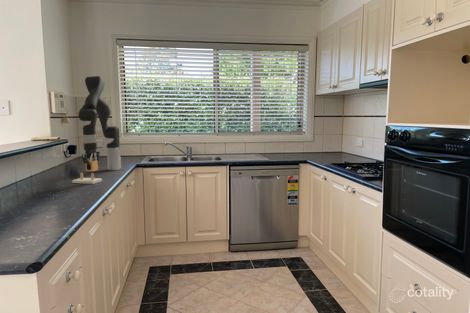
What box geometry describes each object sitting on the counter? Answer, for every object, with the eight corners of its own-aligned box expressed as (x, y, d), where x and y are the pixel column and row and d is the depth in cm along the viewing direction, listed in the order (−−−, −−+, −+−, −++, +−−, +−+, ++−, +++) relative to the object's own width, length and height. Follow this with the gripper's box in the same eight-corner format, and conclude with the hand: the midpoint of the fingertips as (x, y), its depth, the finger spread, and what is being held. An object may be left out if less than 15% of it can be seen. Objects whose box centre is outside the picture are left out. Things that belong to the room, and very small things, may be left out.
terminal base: (82, 179, 209) (81, 171, 209) (102, 180, 206) (101, 172, 205) (72, 182, 201) (71, 174, 200) (92, 183, 197) (92, 175, 196)
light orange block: (91, 169, 204) (90, 160, 203) (98, 169, 203) (97, 160, 202) (85, 170, 199) (85, 161, 199) (92, 171, 198) (92, 161, 197)
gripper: (92, 141, 207) (94, 167, 209) (76, 143, 193) (78, 170, 195) (102, 141, 205) (104, 167, 207) (87, 143, 191) (89, 171, 193)
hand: (91, 168), depth 201 cm, fingers closed on light orange block, 5 cm apart
